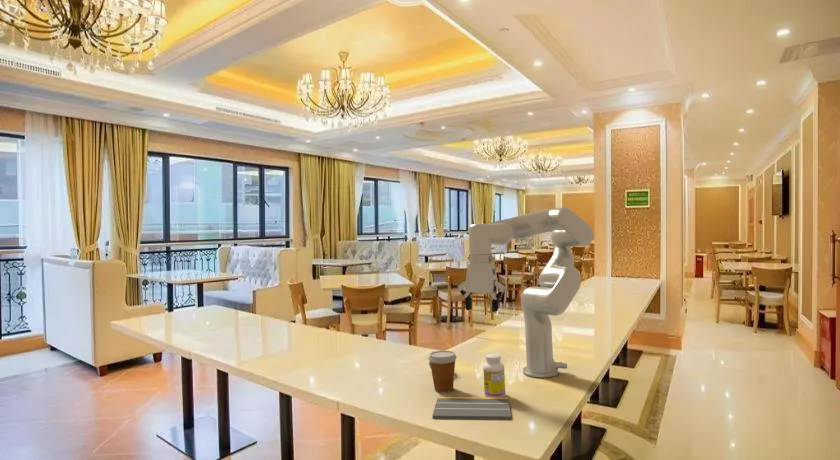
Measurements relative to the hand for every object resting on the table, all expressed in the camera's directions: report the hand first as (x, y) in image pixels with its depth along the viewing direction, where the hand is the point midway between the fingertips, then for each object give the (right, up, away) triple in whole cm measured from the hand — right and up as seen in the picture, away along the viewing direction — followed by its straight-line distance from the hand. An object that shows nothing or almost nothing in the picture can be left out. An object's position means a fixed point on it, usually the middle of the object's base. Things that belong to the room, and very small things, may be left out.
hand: (481, 310), depth 153 cm
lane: (-5, -26, -18) cm, 32 cm away
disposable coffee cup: (-13, -27, 0) cm, 30 cm away
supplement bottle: (+3, -26, -8) cm, 28 cm away
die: (-13, -27, +18) cm, 35 cm away
